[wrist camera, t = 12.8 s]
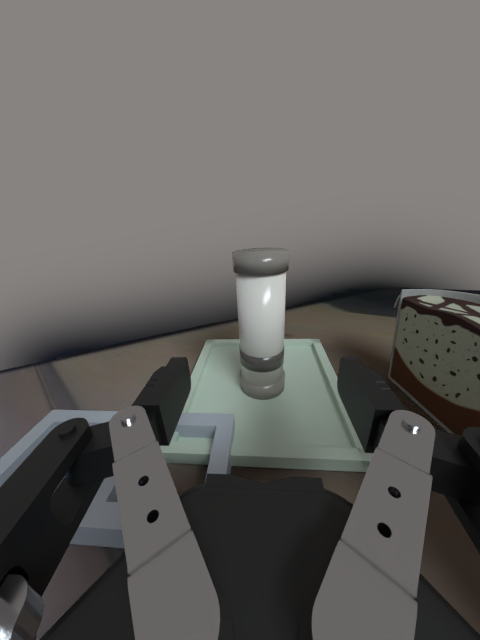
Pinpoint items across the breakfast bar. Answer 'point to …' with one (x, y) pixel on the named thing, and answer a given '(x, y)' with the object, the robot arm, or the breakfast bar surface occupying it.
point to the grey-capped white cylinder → (261, 319)
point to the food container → (439, 355)
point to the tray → (273, 413)
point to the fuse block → (104, 512)
